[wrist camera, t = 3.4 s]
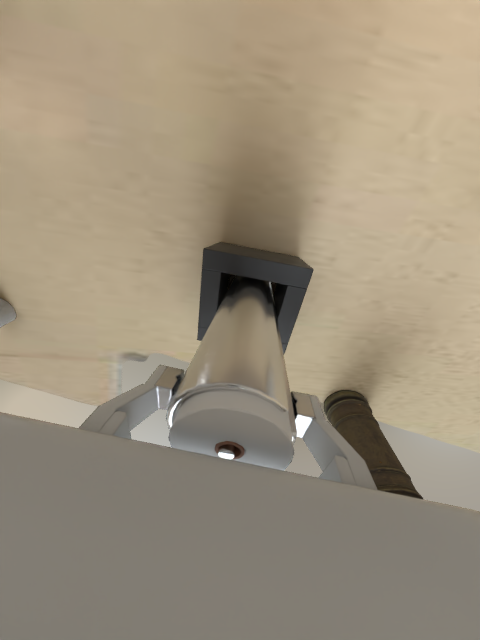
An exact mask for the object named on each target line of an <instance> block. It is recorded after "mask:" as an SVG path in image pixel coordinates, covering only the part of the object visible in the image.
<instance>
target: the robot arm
mask: <svg viewBox="0 0 480 640" xmlns="http://www.w3.org/2000/svg"><path fill="white" fill-rule="evenodd" d="M183 376H184V370H182V369H178V368H173V367H169V366H164V365H159V366H158V367H157V368H156V370H155V371H154V372H153V374H152V375H151V377H150V378H149V379H148V381H147V382H146V383H145V384H141V385H139V386H137V387H135V388H133V389H131V390H129V391H127V392H125V393H123V394H121V395H119V396H117V397H115V398H113V399H112V400H110V401H108V402H106V403H104V404H102V405H100V406H98V407H97V409H96V410H95V411H94V412H93V413H92V414H91V415H90V416H89V417H88V418H87V419H86V420H85V422H84V423H83V424H82V425H81V426H80V427H79V428H74V427H69V426H64V425H59V424H55V423H50V422H45V421H40V420H36V419H30V418H25V417H21V416H16V415H11V414H7V413H2V412H0V640H480V512H479V511H475V510H472V509H467V508H462V507H457V506H453V505H448V504H442V503H438V502H433V501H428V500H423V499H418V498H414V497H409V496H404V495H399V494H394V493H389V492H385V491H380V490H377V487H376V485H375V483H374V481H373V478H372V476H371V474H370V472H369V469H368V467H367V465H366V463H365V461H364V459H363V458H362V457H361V456H360V455H359V454H358V453H357V452H356V451H355V450H354V449H353V448H352V446H351V445H350V444H349V443H348V442H347V441H346V440H345V439H344V438H343V437H342V436H341V435H340V434H339V432H338V431H337V430H336V429H335V428H334V427H333V426H332V425H331V424H330V423H329V422H328V421H326V420H325V418H324V415H323V412H322V409H321V406H320V403H319V400H318V397H317V396H314V395H309V394H304V393H298V392H293V391H292V392H291V393H290V394H291V399H292V405H293V411H294V416H295V422H296V427H297V437H301V438H303V440H304V442H305V443H306V445H307V447H308V448H309V450H310V452H311V453H312V455H313V456H314V458H315V460H316V461H317V463H318V464H319V466H320V468H321V469H322V471H323V473H322V474H321V475H320V477H319V478H317V477H312V476H307V475H301V474H297V473H292V472H287V471H283V470H278V469H273V468H268V467H263V466H258V465H254V464H249V463H244V462H239V461H234V460H229V459H224V458H219V457H215V456H210V455H205V454H200V453H195V452H190V451H185V450H181V449H176V448H170V447H166V446H161V445H156V444H152V443H147V442H142V441H137V440H132V439H131V434H130V431H131V430H132V429H133V428H134V427H136V426H137V425H138V424H140V423H141V422H142V421H143V420H145V419H146V418H147V417H149V416H150V415H151V414H152V413H154V412H155V411H156V410H158V408H159V409H165V410H167V409H168V405H169V403H170V401H171V399H172V398H173V396H174V394H175V392H176V390H177V388H178V386H179V384H180V382H181V380H182V378H183Z"/></svg>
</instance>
